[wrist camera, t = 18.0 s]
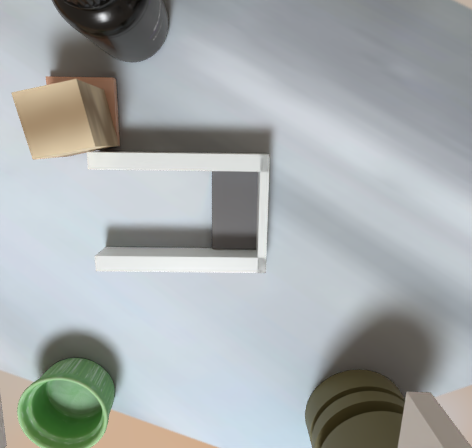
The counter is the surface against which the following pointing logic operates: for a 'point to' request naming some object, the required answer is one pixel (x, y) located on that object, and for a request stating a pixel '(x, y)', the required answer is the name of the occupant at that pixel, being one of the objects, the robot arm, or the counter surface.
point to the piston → (355, 411)
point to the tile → (104, 84)
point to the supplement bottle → (119, 25)
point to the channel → (223, 213)
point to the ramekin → (67, 405)
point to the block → (65, 119)
